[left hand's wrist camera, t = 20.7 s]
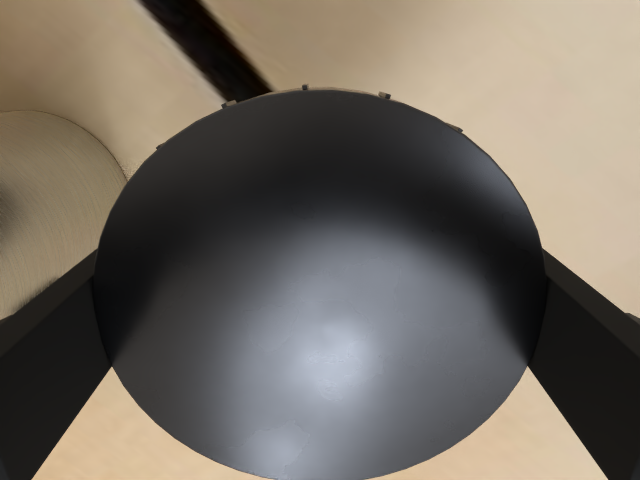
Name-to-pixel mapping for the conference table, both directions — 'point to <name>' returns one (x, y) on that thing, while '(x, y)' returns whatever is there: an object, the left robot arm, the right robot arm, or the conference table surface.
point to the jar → (49, 201)
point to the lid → (319, 285)
